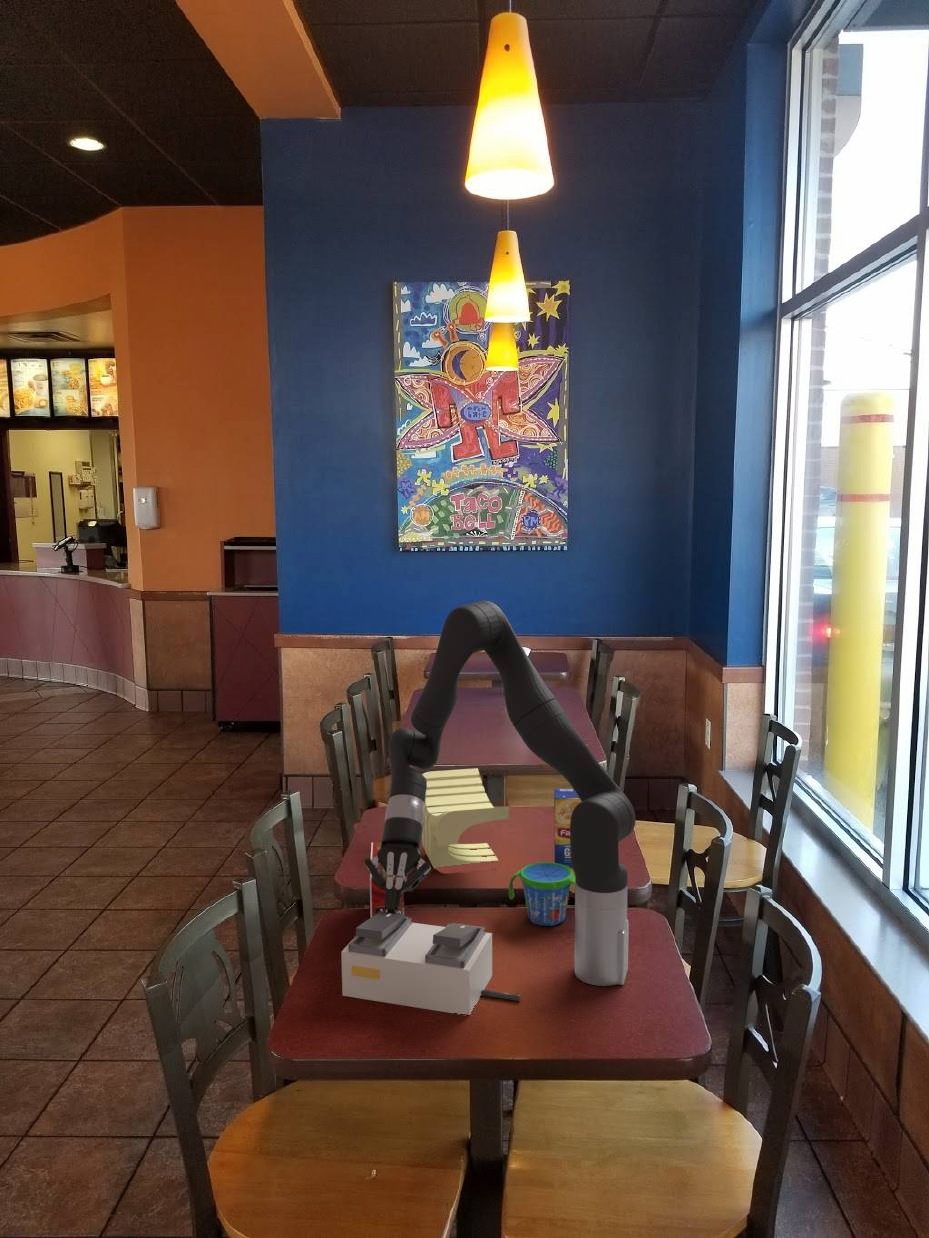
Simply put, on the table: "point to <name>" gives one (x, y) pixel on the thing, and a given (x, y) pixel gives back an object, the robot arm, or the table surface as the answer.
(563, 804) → the beverage box
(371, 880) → the ice cream box
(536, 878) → the snack cup
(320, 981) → the table surface
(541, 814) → the table surface
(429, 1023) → the table surface
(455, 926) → the rocker plain
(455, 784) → the slatted curved stool
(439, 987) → the switch box
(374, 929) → the rocker dark gray
